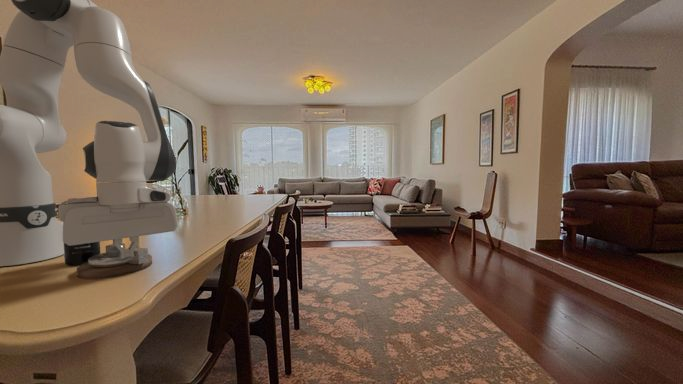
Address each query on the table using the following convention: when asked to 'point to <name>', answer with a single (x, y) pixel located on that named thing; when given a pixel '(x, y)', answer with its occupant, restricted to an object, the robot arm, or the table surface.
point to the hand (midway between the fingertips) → (127, 257)
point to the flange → (117, 257)
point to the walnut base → (111, 269)
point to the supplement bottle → (80, 253)
